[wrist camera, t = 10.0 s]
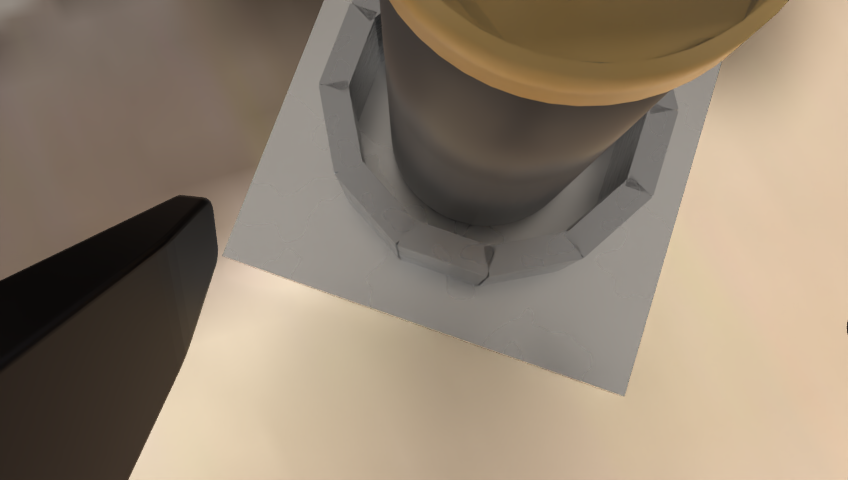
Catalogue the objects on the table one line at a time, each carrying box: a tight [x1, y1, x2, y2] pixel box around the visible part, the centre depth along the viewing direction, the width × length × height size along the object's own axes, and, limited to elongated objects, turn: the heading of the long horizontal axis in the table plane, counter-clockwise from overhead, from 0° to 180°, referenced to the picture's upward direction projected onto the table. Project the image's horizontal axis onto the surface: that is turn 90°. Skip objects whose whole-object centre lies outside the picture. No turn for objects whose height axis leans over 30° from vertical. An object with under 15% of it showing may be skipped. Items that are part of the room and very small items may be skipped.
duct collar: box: [222, 0, 722, 396], centre depth 20 cm, size 13×13×4 cm
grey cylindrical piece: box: [379, 0, 789, 226], centre depth 15 cm, size 6×6×12 cm
